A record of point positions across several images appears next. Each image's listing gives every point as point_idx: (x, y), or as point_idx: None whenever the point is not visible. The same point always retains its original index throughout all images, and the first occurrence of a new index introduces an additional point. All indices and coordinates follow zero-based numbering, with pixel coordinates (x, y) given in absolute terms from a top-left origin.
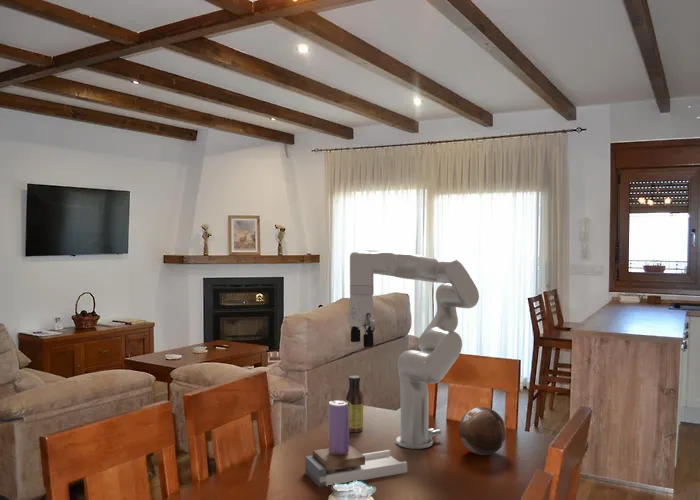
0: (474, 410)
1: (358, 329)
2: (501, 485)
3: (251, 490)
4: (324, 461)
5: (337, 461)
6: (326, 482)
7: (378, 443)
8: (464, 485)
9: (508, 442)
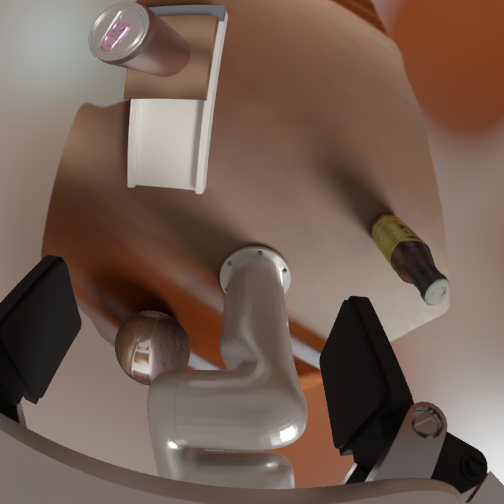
0: (142, 366)
1: (353, 448)
2: None
3: None
4: None
5: None
6: None
7: (294, 222)
8: (68, 228)
9: (187, 368)
